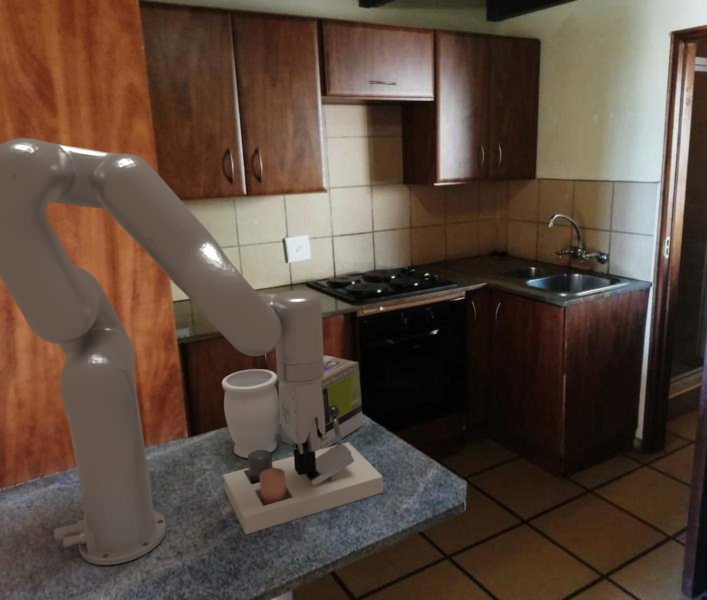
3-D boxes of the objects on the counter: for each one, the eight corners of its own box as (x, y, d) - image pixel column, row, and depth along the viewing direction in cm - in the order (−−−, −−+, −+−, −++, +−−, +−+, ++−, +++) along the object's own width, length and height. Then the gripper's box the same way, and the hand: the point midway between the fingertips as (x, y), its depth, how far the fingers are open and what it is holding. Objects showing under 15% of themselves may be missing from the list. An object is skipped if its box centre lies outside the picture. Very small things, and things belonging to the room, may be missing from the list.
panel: (245, 534, 90) (243, 510, 89) (224, 490, 103) (222, 468, 102) (383, 492, 100) (382, 469, 99) (349, 456, 112) (348, 436, 111)
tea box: (328, 415, 130) (325, 352, 127) (363, 427, 124) (361, 361, 120) (279, 442, 119) (274, 374, 116) (315, 456, 113) (311, 384, 109)
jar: (267, 431, 124) (261, 364, 120) (291, 449, 116) (286, 378, 112) (220, 447, 118) (212, 377, 114) (242, 467, 110) (235, 393, 106)
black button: (253, 487, 99) (251, 463, 98) (247, 476, 103) (245, 453, 102) (276, 481, 101) (274, 457, 100) (269, 470, 104) (267, 447, 103)
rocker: (313, 486, 97) (310, 480, 96) (302, 472, 101) (300, 466, 101) (354, 461, 99) (351, 455, 99) (342, 448, 104) (339, 442, 103)
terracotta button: (265, 509, 93) (263, 483, 92) (258, 496, 97) (256, 472, 96) (289, 502, 95) (287, 477, 94) (281, 489, 98) (279, 465, 97)
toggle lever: (337, 451, 106) (329, 407, 106) (332, 450, 108) (324, 406, 108) (348, 448, 107) (340, 404, 107) (343, 447, 109) (335, 404, 109)
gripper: (264, 358, 99) (270, 456, 103) (293, 388, 86) (299, 499, 90) (305, 351, 102) (310, 447, 106) (340, 378, 89) (344, 487, 93)
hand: (305, 470), depth 98 cm, fingers closed
